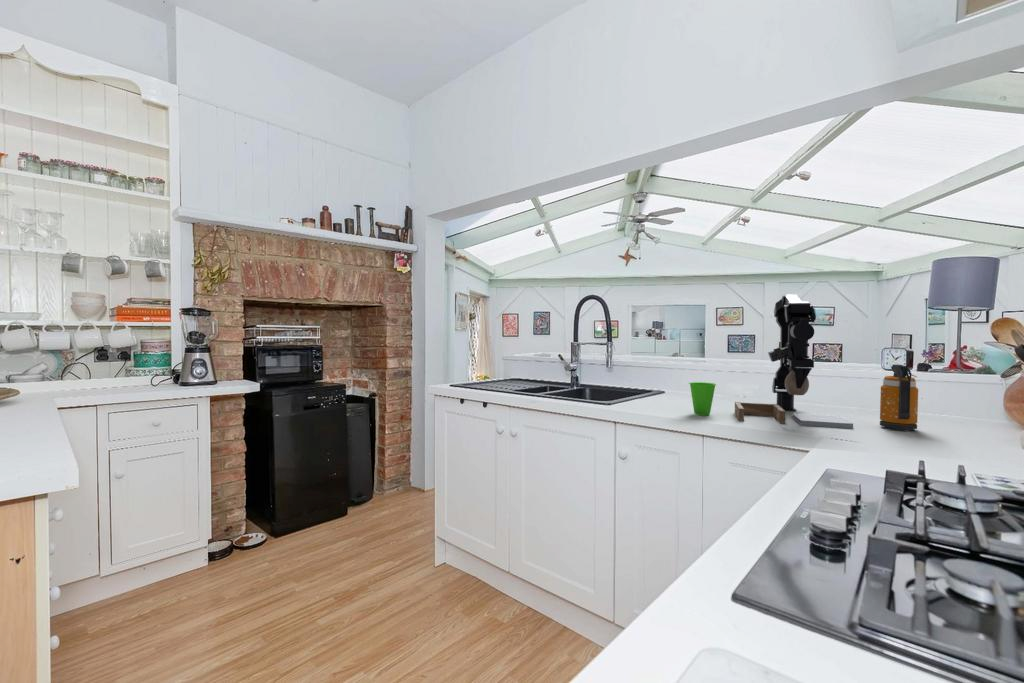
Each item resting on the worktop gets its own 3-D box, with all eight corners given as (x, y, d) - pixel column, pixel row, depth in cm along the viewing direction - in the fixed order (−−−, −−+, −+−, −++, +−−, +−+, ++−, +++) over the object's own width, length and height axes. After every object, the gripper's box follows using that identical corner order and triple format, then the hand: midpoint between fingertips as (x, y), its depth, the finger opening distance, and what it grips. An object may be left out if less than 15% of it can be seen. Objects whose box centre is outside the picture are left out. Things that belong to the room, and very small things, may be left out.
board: (791, 417, 164) (791, 413, 164) (839, 420, 159) (839, 415, 159) (800, 425, 151) (800, 420, 151) (853, 428, 146) (853, 423, 146)
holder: (734, 412, 172) (734, 402, 172) (777, 415, 167) (777, 404, 167) (738, 420, 158) (739, 408, 158) (785, 423, 153) (785, 411, 153)
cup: (711, 412, 173) (711, 382, 173) (719, 416, 164) (719, 385, 164) (685, 411, 174) (686, 381, 174) (692, 416, 165) (693, 384, 165)
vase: (806, 393, 159) (806, 367, 159) (810, 396, 153) (811, 369, 152) (782, 392, 162) (783, 367, 161) (786, 395, 155) (787, 368, 155)
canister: (911, 427, 148) (913, 363, 148) (924, 434, 138) (926, 366, 138) (876, 424, 152) (877, 362, 152) (886, 431, 142) (888, 364, 141)
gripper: (766, 338, 168) (766, 382, 169) (774, 340, 151) (773, 389, 151) (803, 339, 164) (802, 384, 165) (814, 341, 147) (813, 391, 147)
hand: (796, 387), depth 157 cm, fingers closed on vase, 7 cm apart
